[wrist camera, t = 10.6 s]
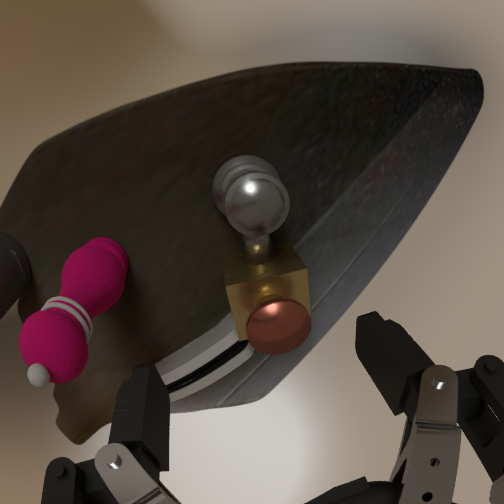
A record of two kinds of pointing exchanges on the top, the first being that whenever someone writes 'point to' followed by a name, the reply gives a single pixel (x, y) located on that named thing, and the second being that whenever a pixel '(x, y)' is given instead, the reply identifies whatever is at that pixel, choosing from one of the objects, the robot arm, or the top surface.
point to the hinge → (204, 360)
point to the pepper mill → (73, 313)
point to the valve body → (265, 282)
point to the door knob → (254, 200)
